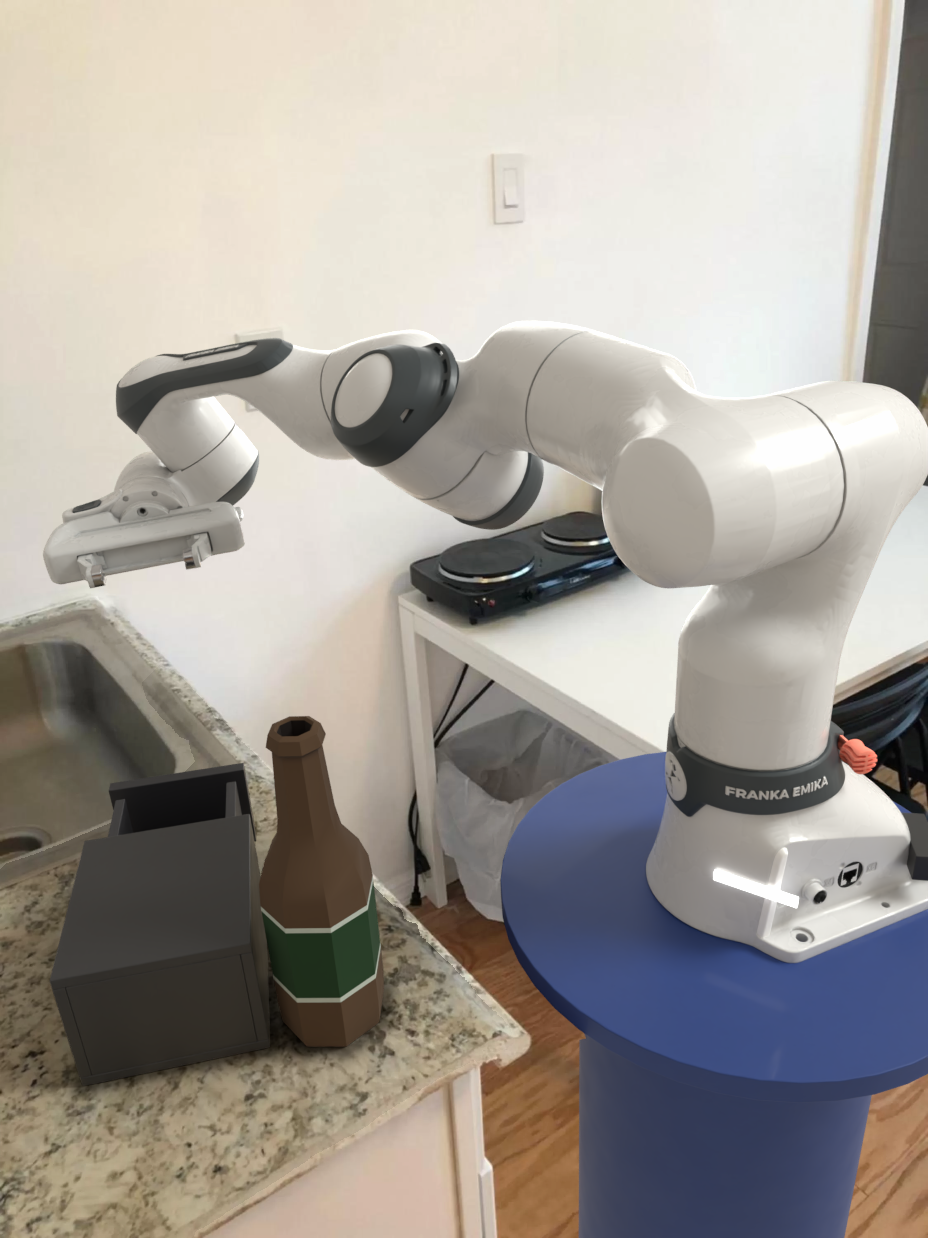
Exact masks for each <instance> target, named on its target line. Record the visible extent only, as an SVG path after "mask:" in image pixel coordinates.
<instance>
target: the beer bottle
mask: <svg viewBox="0 0 928 1238" xmlns="http://www.w3.org/2000/svg"><path fill="white" fill-rule="evenodd" d="M266 736H267V737H266V743H265V749H267V751H270V752H271V759H272V772H273V785H274V795H275V796H274V797H275V807H276V808H275V809H276V821H277V822H276V833H275V835H274V836H273V837H272V839H271V842H270V845H269V848H268V850H267V853H266V856H265V859H264V862H263V864H262V869H261V872H260V875H261V877H260V882H259V893H260V906H261V912H262V917H263V923H264V928H265V934H266V940H267V952H268V955H269V961H270V967H271V973H272V978H273V979H272V980H273V984H274V989H275V994H276V995H275V996H276V1000H277V1005H278V1009H279V1012H280V1017H281V1020H282V1022H283V1023H284V1025H286V1026H287V1028H289V1030H290V1031H291V1032H293V1034H294V1035H295V1036H297V1038H298V1039H299V1040H300V1041H301V1042H302V1043H303V1044H304V1045H305V1046H306V1047H307V1048H309V1047H310V1048H311V1047H313V1048H314V1047H315V1048H319V1047H321V1048H324V1047H325V1048H327V1047H328V1048H332V1047H333V1048H334V1047H335V1048H336V1047H340V1048H342V1047H346V1048H347V1047H348V1046H350V1045H352V1043H354V1042H355V1041H356V1040H358V1039H359V1038H360V1037H362V1036H364V1035H365V1034H366V1033H367V1032H368V1031H370V1030H371V1029H373V1028H375V1026H377V1025H378V1024H379V1022H380V1019H381V1013H382V1007H383V999H384V993H385V973H384V972H385V971H384V962H383V954H382V944H381V937H380V925H379V919H378V918H379V917H378V909H377V901H376V891H375V884H374V883H375V882H374V873H373V870H372V864H371V861H370V855H369V853H368V851H367V850H366V848H365V847H364V845H363V844H362V841H361V840H360V838H359V837H358V836H356V835H355V834H354V833H353V832H352V831H351V830H349V828H347V827H346V826H345V825H344V824H342V821H341V819H340V815H339V813H338V810H337V807H336V805H335V800H334V794H333V789H332V785H331V781H330V775H329V771H328V766H327V761H326V756H325V751H324V746H323V744H324V741H325V739H326V731H325V729H324V726H323V725H322V723H321V722H319V721H318V720H316V719H315V718H313V717H312V716H310V715H294V716H293V715H291V716H286V717H285V718H283V719H281V720H278V721H276V722H274V723H272V724H271V726H270V728H269V731H268V733H267V735H266Z"/></svg>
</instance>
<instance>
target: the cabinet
mask: <svg viewBox="0 0 928 1238" xmlns="http://www.w3.org/2000/svg"><path fill="white" fill-rule="evenodd" d="M255 842H256V841H254V836H253V830H252V824H251V819H250V814H246V815H239V816H233V817H227V818H221V819H215V820H209V821H203V822H197V823H191V824H185V825H179V826H173V827H166V828H160V829H154V830H148V831H142V832H136V833H130V834H124V835H118V836H112V837H108V836H107V837H100V838H95V839H87V840H84V841H83V845H82V850H81V854H80V859H79V862H78V865H77V870H76V873H75V878H74V882H73V886H72V890H71V893H70V897H69V902H68V906H67V909H66V914H65V918H64V922H63V925H62V929H61V933H60V937H59V940H58V946H57V950H56V953H55V954H56V955H55V957H54V961H53V966H52V970H51V973H50V978H49V984H50V988H51V990H52V993H53V998H54V1000H55V1003H56V1007H57V1010H58V1013H59V1016H60V1019H61V1023H62V1026H63V1029H64V1032H65V1036H66V1038H67V1039H66V1040H67V1042H68V1045H69V1047H70V1052H71V1054H72V1057H73V1061H74V1064H75V1067H76V1070H77V1074H78V1077H79V1079H80V1082H81V1086H82V1087H86V1086H90V1085H96V1084H100V1083H105V1082H110V1081H114V1080H119V1079H125V1078H129V1077H134V1076H138V1075H143V1074H148V1073H152V1072H158V1071H163V1070H168V1069H173V1068H177V1067H182V1066H186V1065H187V1066H188V1065H192V1064H196V1063H201V1062H205V1061H206V1062H207V1061H211V1060H215V1059H220V1058H226V1057H229V1056H236V1055H241V1054H245V1053H248V1052H249V1053H250V1052H253V1051H259V1050H264V1049H268V1048H270V1047H271V1023H270V992H269V960H268V959H269V958H268V955H269V953H268V945H267V940H266V934H265V928H264V923H263V917H262V912H261V906H260V893H259V882H260V877H261V871H260V864H259V859H258V853H257V847H256V843H255Z"/></svg>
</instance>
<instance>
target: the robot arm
mask: <svg viewBox="0 0 928 1238" xmlns="http://www.w3.org/2000/svg"><path fill="white" fill-rule="evenodd" d="M220 396H232V397H234V398H237V399H240V400H241V401H243V402H245V403H247V404H248V405H250V406H251V407H253V408H254V409H255V410H257V411H258V412H259V413H261V414H262V415H263V416H264V417H265V418H267V419H268V420H269V421H270V422H271V423H272V424H273V425H274V426H276V428H277V429H279V430H280V431H281V432H282V433H283V434H285V436H287V437H288V438H289V440H291V441H292V442H293V443H295V445H297V447H299V448H300V449H302V450H303V451H306V452H307V453H309V454H310V455H312V456H315V457H317V458H320V459H324V460H329V461H352V460H356V461H357V462H358V463H360V465H363V466H365V467H369V468H372V470H374V471H375V472H376V473H378V474H379V475H380V476H381V477H383V478H384V479H386V480H387V481H388V482H390V483H391V484H392V485H394V486H395V487H397V488H399V489H400V490H401V491H403V492H405V493H406V494H407V495H409V496H411V497H413V498H414V499H416V500H418V501H420V502H421V503H423V504H424V505H428V506H429V507H431V508H434V509H435V510H438V511H440V512H442V513H444V514H447V515H449V516H452V518H454V519H455V520H456V521H457V522H458V523H461V524H464V525H467V526H468V527H473V528H477V529H482V530H489V531H495V530H502V529H505V528H508V527H509V526H511V525H514V524H515V523H517V522H518V521H519V520H521V519H522V518H523V517H524V516H525V515H526V514H527V513H528V512H529V510H530V509H531V508H532V507H533V505H534V504H535V502H536V501H537V499H538V496H539V494H540V492H541V489H542V486H543V481H544V476H545V475H544V473H545V467H544V462H546V463H548V464H550V465H552V466H554V467H556V468H558V469H560V470H562V471H564V472H566V473H567V474H570V475H572V476H573V477H576V478H577V479H579V480H581V481H583V482H585V483H586V484H588V485H591V486H593V487H594V488H596V489H598V490H599V491H601V513H602V514H601V515H602V520H603V526H604V530H605V532H606V536H607V538H608V540H609V543H610V545H611V547H612V549H613V550H614V552H615V554H616V555H617V557H618V558H619V559H620V560H621V562H622V563H623V564H624V565H625V566H626V567H627V569H629V571H630V572H631V573H633V575H635V576H636V577H637V578H639V579H640V580H642V582H645V583H647V584H648V585H651V586H654V587H657V588H662V589H685V588H698V587H706V586H707V587H708V589H707V590H706V592H705V593H704V594H703V596H702V597H701V598H700V600H699V601H698V602H697V603H696V604H695V605H694V607H693V608H692V609H691V611H690V612H689V614H688V615H687V617H686V619H685V621H684V623H683V625H682V628H681V630H680V633H679V637H678V644H677V646H678V647H677V660H676V661H677V662H676V663H677V665H676V681H675V699H674V712H673V714H672V715H671V717H670V718H669V719H670V720H669V721H668V729H667V741H666V750H665V752H666V758H665V779H666V790H667V797H666V803H665V807H664V812H663V817H662V821H661V824H660V828H659V832H658V835H657V838H656V841H655V843H654V846H653V848H652V850H651V852H650V854H649V857H648V859H647V863H646V877H647V881H648V884H649V886H650V889H651V891H652V892H653V894H654V896H655V897H656V898H657V900H658V901H659V902H660V903H661V904H662V906H663V907H665V908H666V909H667V910H668V911H669V912H670V913H671V914H673V915H674V916H675V917H676V918H678V919H679V920H681V921H683V922H684V923H686V924H688V925H690V926H691V927H693V928H695V929H698V930H700V931H702V932H705V933H707V934H710V935H713V936H716V937H720V938H724V939H728V940H732V941H737V942H741V943H745V944H748V945H751V946H753V947H755V948H757V949H758V950H760V951H762V952H764V953H766V954H768V955H770V956H772V957H774V958H776V959H778V960H780V961H783V962H787V963H799V962H802V961H804V960H807V959H809V958H812V957H814V956H816V955H819V954H821V953H824V952H826V951H828V950H831V949H833V948H836V947H838V946H840V945H843V944H845V943H848V942H850V941H852V940H855V939H857V938H860V937H862V936H864V935H867V934H869V933H872V932H874V931H876V930H879V929H881V928H884V927H886V926H888V925H891V924H893V923H896V922H898V921H900V920H903V919H905V918H908V917H910V916H912V915H915V914H917V913H920V912H922V911H924V910H927V909H928V820H927V817H926V815H925V813H915V812H911V813H903V812H900V810H899V809H898V808H897V806H896V805H895V804H894V802H895V801H893V800H892V799H891V798H890V796H888V795H887V794H886V793H885V791H884V790H882V789H881V788H880V787H879V786H878V785H877V784H876V783H875V782H874V781H872V780H871V779H869V778H868V777H867V776H866V775H865V774H868V773H870V772H872V771H873V768H875V767H876V766H877V763H878V755H877V754H876V752H875V751H874V750H872V749H871V748H869V747H867V746H865V744H864V742H863V740H860V739H858V738H852V739H848V738H846V737H845V736H844V734H845V731H844V730H843V729H842V728H840V726H838V724H836V723H835V722H834V721H832V713H833V708H834V707H833V706H834V700H835V695H836V694H835V693H836V687H837V680H838V675H839V670H840V669H839V668H840V662H841V658H842V654H843V649H844V645H845V641H846V638H847V636H848V632H849V630H850V626H851V623H852V621H853V618H854V616H855V613H856V610H857V609H858V605H859V603H860V601H861V599H862V596H863V594H864V590H865V589H866V587H867V584H868V582H869V579H870V578H871V575H872V572H873V570H874V567H875V565H876V563H877V561H878V558H879V556H880V554H881V551H882V549H883V547H884V545H885V543H886V540H887V538H888V536H889V535H890V533H891V531H892V529H893V527H894V525H895V523H896V522H897V521H898V519H899V517H900V516H901V514H902V513H903V511H904V510H905V509H906V508H907V506H908V505H909V504H910V502H912V500H913V499H914V497H916V495H917V494H918V492H920V490H921V489H922V487H923V485H924V484H925V481H926V480H927V478H928V425H927V422H926V420H925V418H924V416H923V414H922V412H921V411H920V410H919V408H918V407H917V406H916V404H915V403H913V401H912V400H911V399H909V397H908V396H906V395H904V394H903V393H902V392H900V391H899V390H896V389H894V388H891V387H889V386H886V385H882V384H876V383H871V382H870V383H869V382H862V381H851V380H850V381H847V380H844V381H843V380H825V381H819V382H815V383H811V384H806V385H802V386H798V387H794V388H789V389H785V390H781V391H776V392H772V393H768V394H762V395H761V394H760V395H755V396H749V397H748V396H747V397H745V396H744V397H742V396H741V397H724V396H714V395H708V394H704V393H701V392H700V391H697V386H696V384H695V379H694V377H693V375H692V373H691V371H690V370H689V369H688V367H687V366H686V365H685V363H683V361H681V360H680V359H678V357H676V356H674V355H672V354H671V353H667V352H663V351H661V350H657V349H654V348H651V347H648V346H645V345H642V344H639V343H636V342H633V341H631V340H630V341H629V340H627V339H623V338H619V337H617V336H615V335H611V334H608V333H605V332H602V331H598V330H595V329H591V328H588V327H584V326H579V325H575V324H570V323H562V322H555V321H547V320H546V321H545V320H520V321H514V322H510V323H508V324H506V325H503V326H501V327H500V328H498V329H496V330H495V331H494V332H492V333H491V334H490V335H489V336H488V338H487V339H485V341H484V342H483V344H482V345H481V346H480V348H479V349H478V351H477V352H476V353H475V354H474V355H473V356H472V357H470V358H468V359H456V357H455V355H454V353H453V351H452V349H451V348H450V347H449V346H448V345H447V344H446V343H442V342H441V341H440V340H439V339H438V338H436V337H435V336H434V335H432V334H430V333H428V332H426V331H422V330H419V329H405V330H396V331H391V332H385V333H380V334H377V335H372V336H369V337H365V338H362V339H359V340H356V341H352V342H349V343H347V344H345V345H342V346H340V347H338V348H335V349H329V350H328V349H325V350H323V349H314V348H313V349H312V348H307V347H302V346H299V345H295V344H293V343H291V342H289V341H286V340H285V339H282V338H279V337H268V338H267V337H266V338H260V339H259V338H258V339H253V340H252V339H251V340H246V341H241V342H237V343H230V344H226V345H221V346H217V347H212V348H207V349H201V350H197V351H192V352H187V353H186V352H185V353H161V354H157V355H155V356H151V357H148V358H145V359H143V360H142V361H140V362H138V363H136V364H135V365H134V366H132V367H131V368H129V369H128V370H127V372H126V373H125V374H124V375H123V376H122V378H120V380H119V381H118V383H117V384H116V387H115V410H116V416H117V418H119V420H120V421H122V422H123V423H124V425H126V427H128V429H130V430H131V432H133V433H134V434H135V435H137V436H138V437H139V438H140V439H141V440H142V441H143V442H144V444H145V445H146V446H147V447H148V448H149V449H150V451H147V452H143V453H140V454H138V455H136V456H134V457H133V458H132V459H131V460H130V461H129V462H128V463H127V464H126V465H125V467H123V469H122V470H121V472H120V474H119V476H118V477H117V479H116V482H115V485H114V488H113V491H112V492H110V493H108V494H106V495H104V496H103V497H102V496H101V497H100V498H98V499H95V500H91V501H89V502H86V503H83V504H80V505H76V506H73V507H71V508H68V509H65V510H64V511H63V513H62V514H61V518H62V522H63V523H62V524H60V525H58V526H57V527H56V528H54V530H53V531H52V532H51V534H50V535H49V537H48V539H47V541H46V543H45V545H44V548H43V550H42V551H43V552H42V557H43V561H44V565H45V568H46V571H47V574H48V576H49V579H50V581H51V582H52V583H54V584H57V585H66V584H71V583H76V582H82V581H86V582H87V584H88V587H89V589H95V588H100V587H105V586H106V585H107V576H113V575H118V574H124V573H129V572H134V571H140V570H145V569H149V568H154V567H159V566H160V567H161V566H165V565H170V564H175V563H180V562H181V563H182V562H184V566H185V570H187V571H189V570H195V569H199V568H202V562H204V561H205V560H206V559H208V558H210V557H212V556H218V555H224V554H228V553H234V552H237V551H239V550H241V549H242V548H243V547H244V546H245V545H246V541H245V537H244V532H243V527H242V524H241V522H242V521H243V520H244V510H243V508H242V507H240V506H235V505H236V504H237V503H238V502H240V500H242V499H243V498H244V497H245V496H246V495H247V494H248V492H249V491H250V489H251V488H252V487H253V485H254V483H255V480H256V478H257V473H258V470H259V465H260V453H259V450H258V449H257V448H256V446H255V445H254V444H253V443H252V441H251V440H250V439H249V438H248V436H247V435H246V434H245V432H244V431H243V430H242V429H241V428H240V426H239V424H237V423H236V421H235V420H234V419H233V418H232V417H231V415H230V414H228V412H227V411H226V409H225V408H224V407H223V406H222V405H221V404H220V402H219V401H218V400H217V399H216V397H220ZM234 506H235V507H234ZM800 941H802V942H800Z"/></svg>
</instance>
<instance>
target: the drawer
mask: <svg viewBox="0 0 928 1238" xmlns="http://www.w3.org/2000/svg"><path fill="white" fill-rule="evenodd" d="M108 795H109V798H110V803H111V806H112V815H111V816H112V817H111V821H110V825H109V829H108V834H107V837H112V836H118V835H124V834H130V833H136V832H142V831H148V830H154V829H160V828H166V827H173V826H179V825H185V824H191V823H197V822H203V821H209V820H215V819H221V818H227V817H233V816H239V815H246V814H250V819H251V824H252V830H253V836H254V841H255V842H257V831H256V824H255V819H254V813H253V808H252V802H251V796H250V790H249V784H248V778H247V774H246V768H245V762H238V763H233V764H226V765H219V766H213V767H208V768H200V769H193V770H188V771H180V772H174V773H168V774H162V775H161V774H160V775H156V776H147V777H142V778H137V779H129V780H123V781H116V782H110V783H109V786H108Z"/></svg>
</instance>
